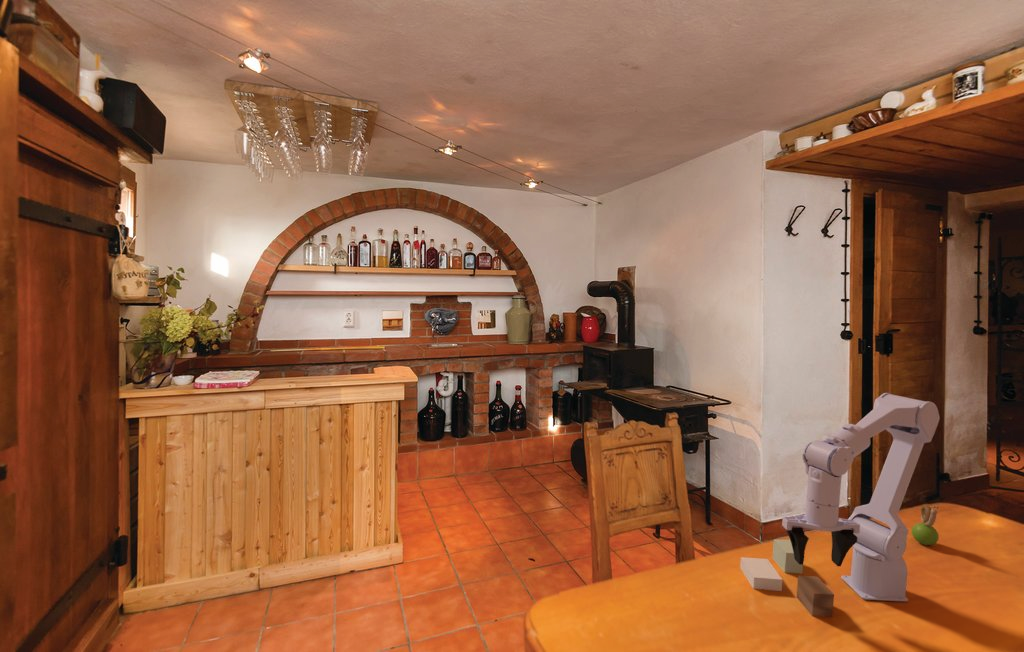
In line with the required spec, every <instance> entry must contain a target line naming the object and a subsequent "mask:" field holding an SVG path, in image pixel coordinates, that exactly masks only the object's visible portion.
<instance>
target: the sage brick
mask: <svg viewBox="0 0 1024 652" xmlns="http://www.w3.org/2000/svg"><path fill="white" fill-rule="evenodd" d="M772 559H773V560H774V562H775V563H776V564H777V565H778V567H779V568H780V570H782V572H784V573H785V574H800V575H801V574H803V569H804V568H803V567H804V564H803V565H801V564H798V562H797V561H796V560H795V559H794V552H793V547H792V544H791V541H790V539H777V538H774V539H773V546H772Z"/></svg>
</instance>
